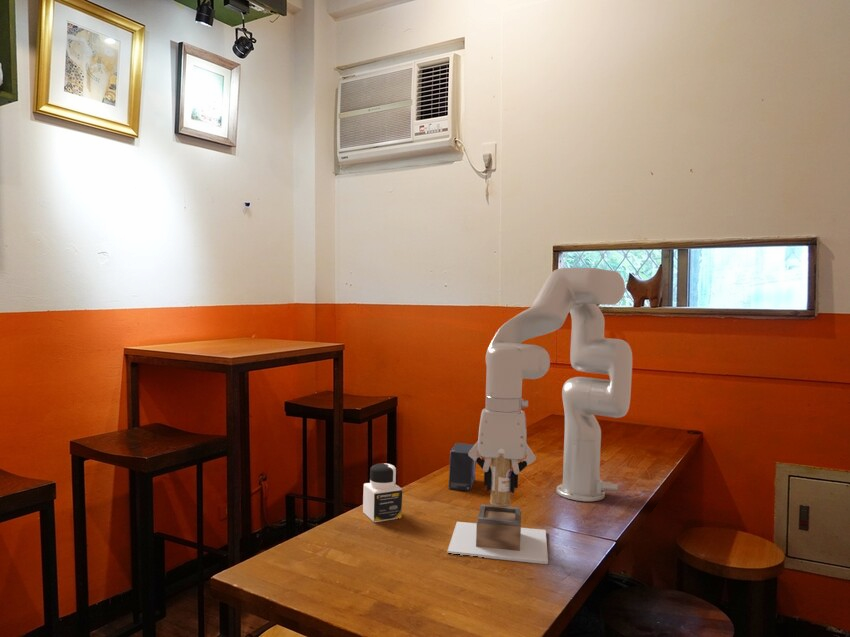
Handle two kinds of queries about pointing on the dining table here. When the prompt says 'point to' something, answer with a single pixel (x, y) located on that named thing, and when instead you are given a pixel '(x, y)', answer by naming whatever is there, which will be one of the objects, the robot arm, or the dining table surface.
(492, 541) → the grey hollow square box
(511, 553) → the white rectangular board
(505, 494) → the sprinkles bottle
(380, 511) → the medicine bottle
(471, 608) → the dining table surface
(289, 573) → the dining table surface
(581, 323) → the robot arm
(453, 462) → the small box
